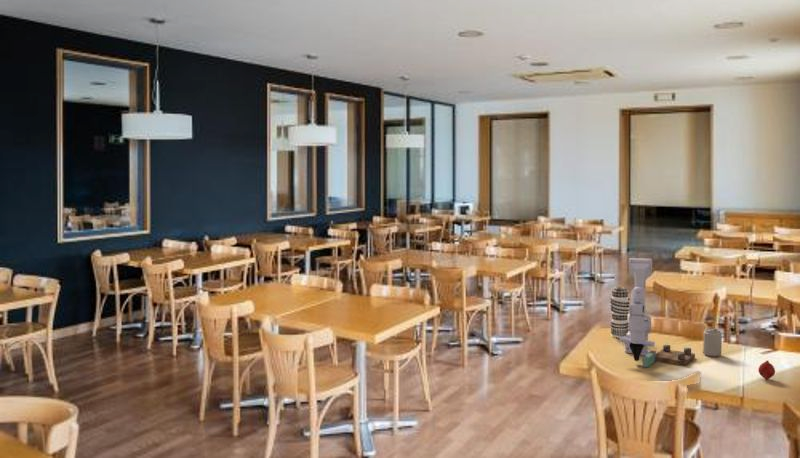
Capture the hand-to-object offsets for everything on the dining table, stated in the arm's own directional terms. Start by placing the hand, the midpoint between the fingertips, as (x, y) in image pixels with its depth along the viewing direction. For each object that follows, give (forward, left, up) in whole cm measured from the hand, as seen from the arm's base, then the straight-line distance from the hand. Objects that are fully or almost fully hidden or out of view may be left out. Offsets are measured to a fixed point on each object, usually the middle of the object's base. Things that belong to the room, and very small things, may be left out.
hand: (636, 360), depth 291 cm
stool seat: (+11, +16, -2) cm, 19 cm away
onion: (+49, +9, -2) cm, 50 cm away
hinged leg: (+5, +3, -1) cm, 5 cm away
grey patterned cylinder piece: (-23, +41, -2) cm, 47 cm away
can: (+23, +32, -2) cm, 39 cm away
